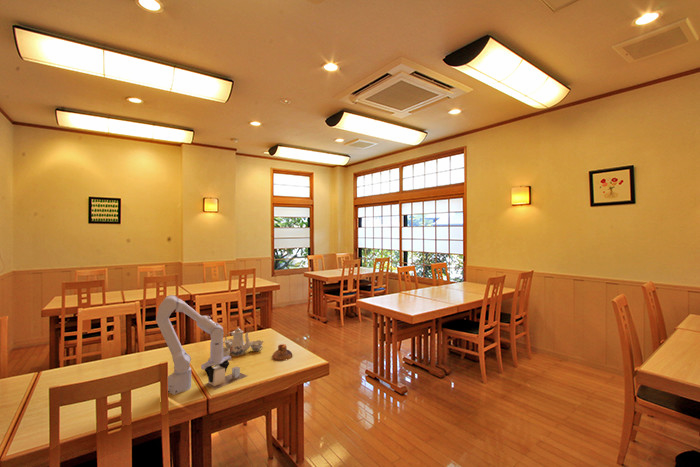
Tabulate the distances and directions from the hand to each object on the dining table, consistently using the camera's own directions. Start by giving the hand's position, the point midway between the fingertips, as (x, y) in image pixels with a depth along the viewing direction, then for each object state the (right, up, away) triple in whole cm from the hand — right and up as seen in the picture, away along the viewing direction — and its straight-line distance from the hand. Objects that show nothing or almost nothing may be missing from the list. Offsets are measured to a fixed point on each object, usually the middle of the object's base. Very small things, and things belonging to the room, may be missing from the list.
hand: (216, 379), depth 153 cm
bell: (+24, -4, +36) cm, 43 cm away
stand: (+4, -2, +3) cm, 5 cm away
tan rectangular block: (0, -1, 0) cm, 1 cm away
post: (+7, -3, +5) cm, 9 cm away
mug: (-7, -3, +18) cm, 19 cm away
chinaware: (-4, -4, +45) cm, 46 cm away
